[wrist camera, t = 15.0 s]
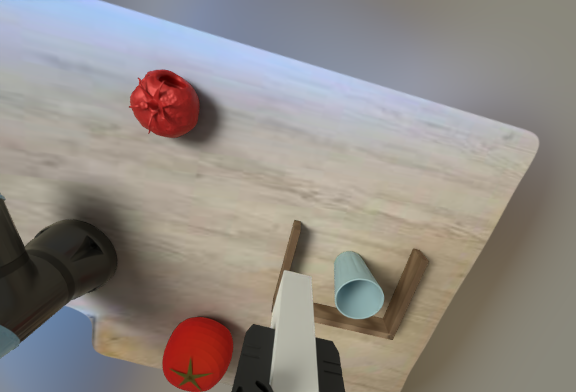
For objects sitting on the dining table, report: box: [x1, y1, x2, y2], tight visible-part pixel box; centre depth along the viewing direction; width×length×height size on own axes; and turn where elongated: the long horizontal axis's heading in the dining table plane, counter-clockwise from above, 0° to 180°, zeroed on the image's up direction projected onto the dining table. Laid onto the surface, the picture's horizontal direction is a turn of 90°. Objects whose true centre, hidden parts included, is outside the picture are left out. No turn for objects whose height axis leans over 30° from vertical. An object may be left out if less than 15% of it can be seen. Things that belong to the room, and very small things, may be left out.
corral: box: [271, 220, 429, 340], centre depth 52 cm, size 24×18×4 cm
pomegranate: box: [129, 70, 200, 138], centre depth 41 cm, size 10×10×9 cm
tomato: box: [163, 317, 233, 392], centre depth 54 cm, size 13×14×12 cm
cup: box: [334, 251, 384, 319], centre depth 48 cm, size 8×8×10 cm
